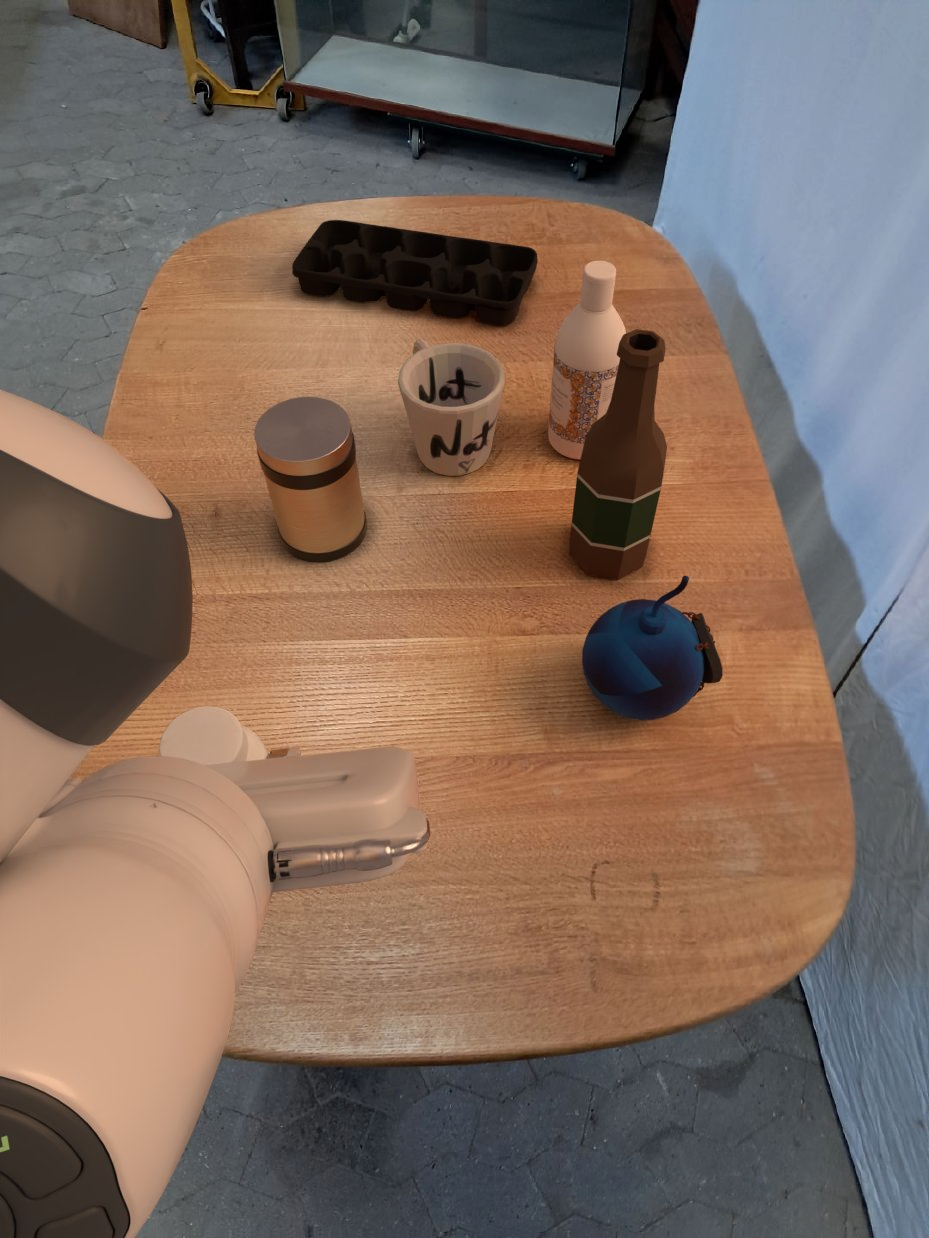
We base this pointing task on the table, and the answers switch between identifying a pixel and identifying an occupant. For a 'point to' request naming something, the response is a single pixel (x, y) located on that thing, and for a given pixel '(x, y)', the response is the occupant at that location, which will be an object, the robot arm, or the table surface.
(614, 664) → the bomb
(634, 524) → the beer bottle
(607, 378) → the bath foam
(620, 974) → the table surface
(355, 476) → the copper canister
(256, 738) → the pill bottle
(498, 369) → the mug
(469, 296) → the egg carton
